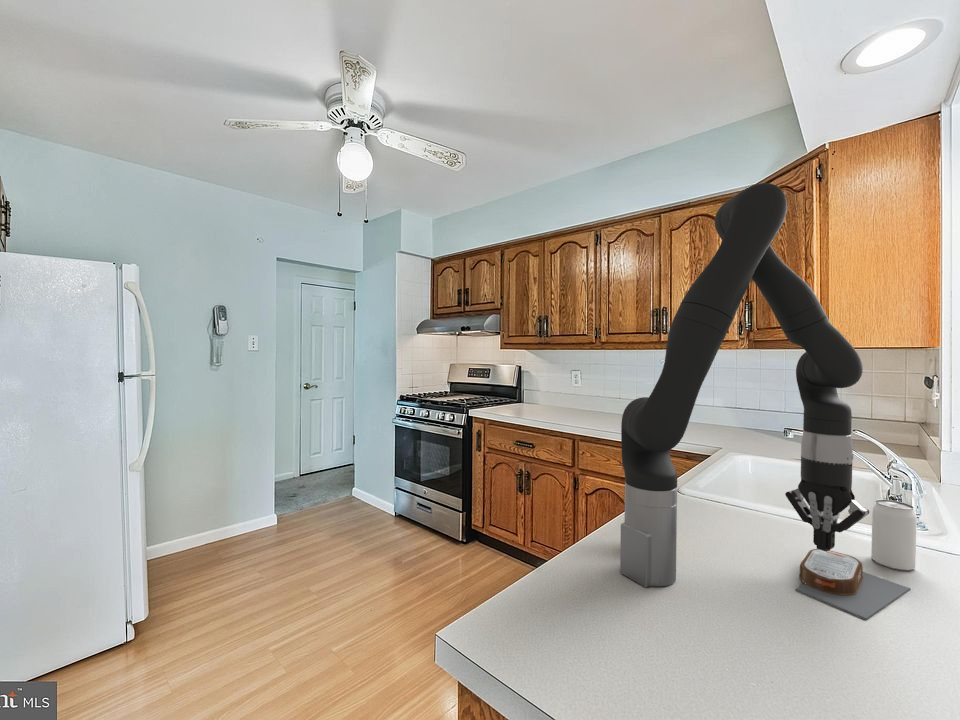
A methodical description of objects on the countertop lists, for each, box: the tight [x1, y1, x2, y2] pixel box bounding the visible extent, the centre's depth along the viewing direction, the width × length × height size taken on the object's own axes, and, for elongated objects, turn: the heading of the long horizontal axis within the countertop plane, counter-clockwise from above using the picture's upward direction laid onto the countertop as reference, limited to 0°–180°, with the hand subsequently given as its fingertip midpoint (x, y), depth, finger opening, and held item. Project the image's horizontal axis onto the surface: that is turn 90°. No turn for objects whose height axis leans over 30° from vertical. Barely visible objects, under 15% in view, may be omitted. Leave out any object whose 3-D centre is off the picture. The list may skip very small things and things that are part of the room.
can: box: [870, 498, 918, 572], centre depth 89 cm, size 6×6×12 cm
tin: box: [798, 548, 864, 596], centre depth 83 cm, size 15×3×8 cm
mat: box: [795, 571, 911, 621], centre depth 79 cm, size 18×10×1 cm, turn 120°
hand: (823, 549), depth 83 cm, fingers closed
